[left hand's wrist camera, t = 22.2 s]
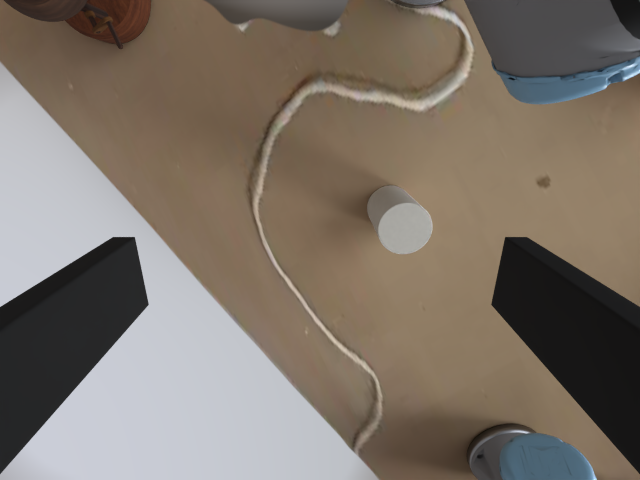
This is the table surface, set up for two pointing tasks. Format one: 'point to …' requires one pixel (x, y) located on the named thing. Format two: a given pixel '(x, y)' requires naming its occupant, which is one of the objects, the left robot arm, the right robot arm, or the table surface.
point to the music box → (92, 16)
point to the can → (399, 220)
